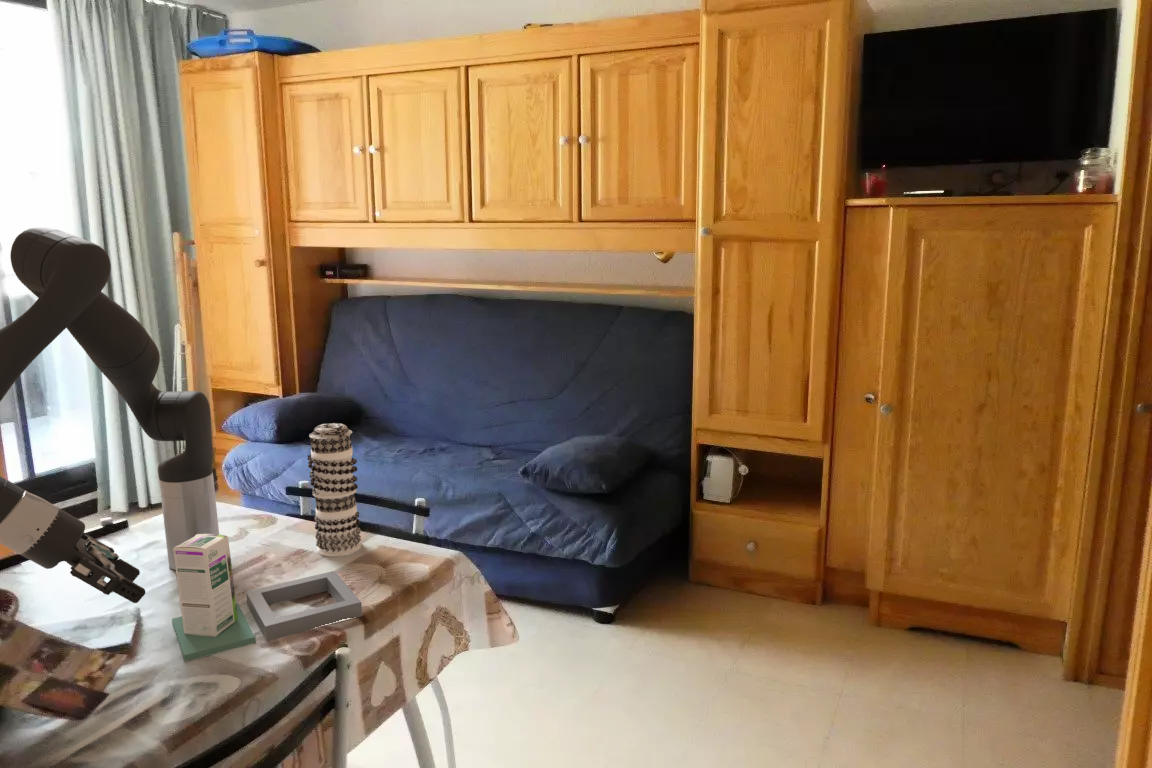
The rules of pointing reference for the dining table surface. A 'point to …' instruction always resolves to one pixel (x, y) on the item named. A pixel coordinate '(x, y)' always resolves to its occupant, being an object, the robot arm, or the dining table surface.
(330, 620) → the pocket board
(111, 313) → the robot arm
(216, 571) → the syrup box
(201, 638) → the pad
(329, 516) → the decorative candle
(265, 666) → the dining table surface
